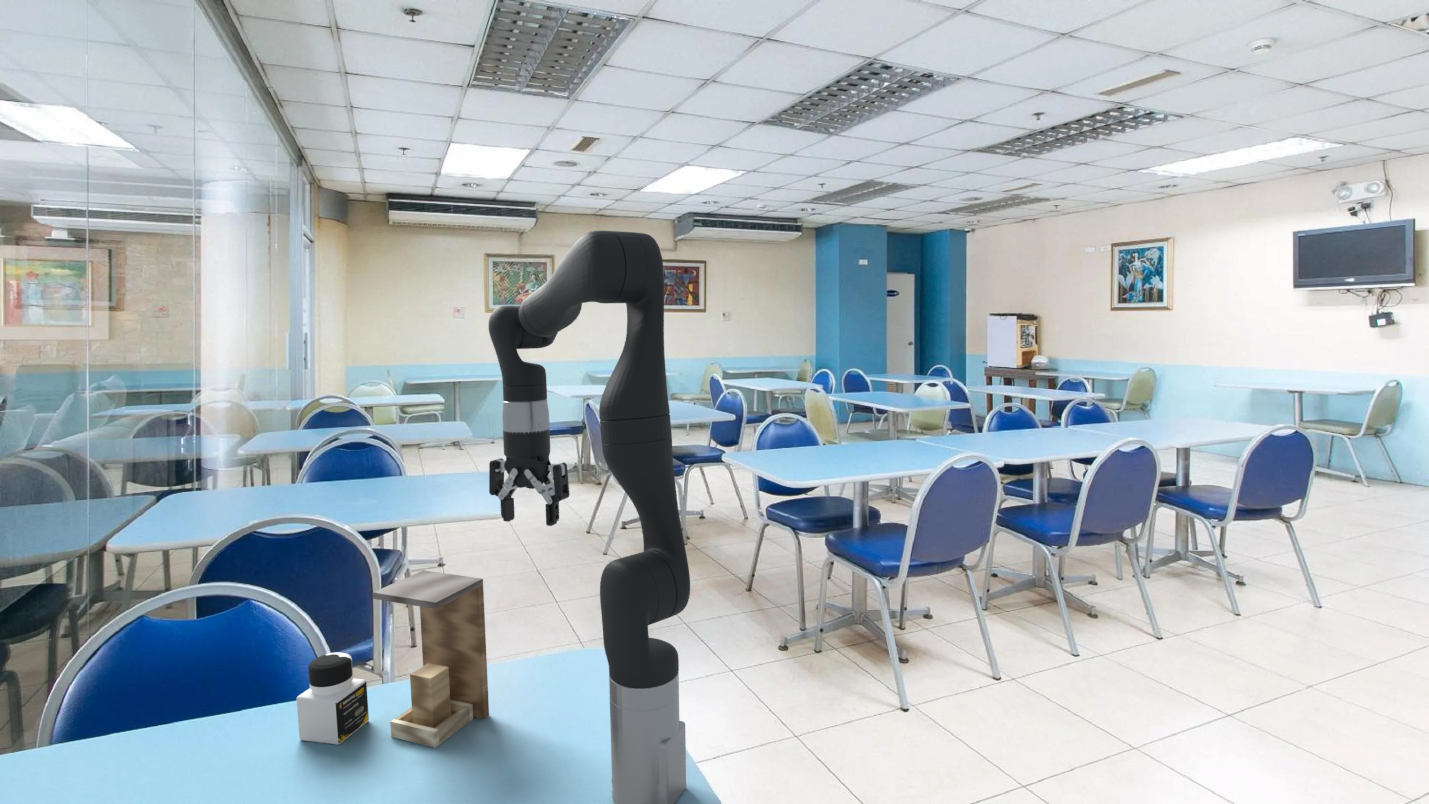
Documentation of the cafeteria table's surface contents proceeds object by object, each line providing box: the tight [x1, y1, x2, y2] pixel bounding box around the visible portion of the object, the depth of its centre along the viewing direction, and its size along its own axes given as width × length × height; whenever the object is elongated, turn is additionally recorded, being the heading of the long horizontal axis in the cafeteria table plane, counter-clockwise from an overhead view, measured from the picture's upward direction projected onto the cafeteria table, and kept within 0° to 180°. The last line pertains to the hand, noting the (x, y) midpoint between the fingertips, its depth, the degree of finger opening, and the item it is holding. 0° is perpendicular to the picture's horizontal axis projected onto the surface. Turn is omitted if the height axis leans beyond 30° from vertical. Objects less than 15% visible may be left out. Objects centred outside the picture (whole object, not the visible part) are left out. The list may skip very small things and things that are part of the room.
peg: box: [409, 663, 451, 728], centre depth 116 cm, size 4×4×10 cm
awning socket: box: [372, 570, 490, 749], centre depth 116 cm, size 12×11×23 cm
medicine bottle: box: [296, 651, 370, 745], centre depth 116 cm, size 7×7×12 cm
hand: (530, 522), depth 124 cm, fingers open, 8 cm apart
